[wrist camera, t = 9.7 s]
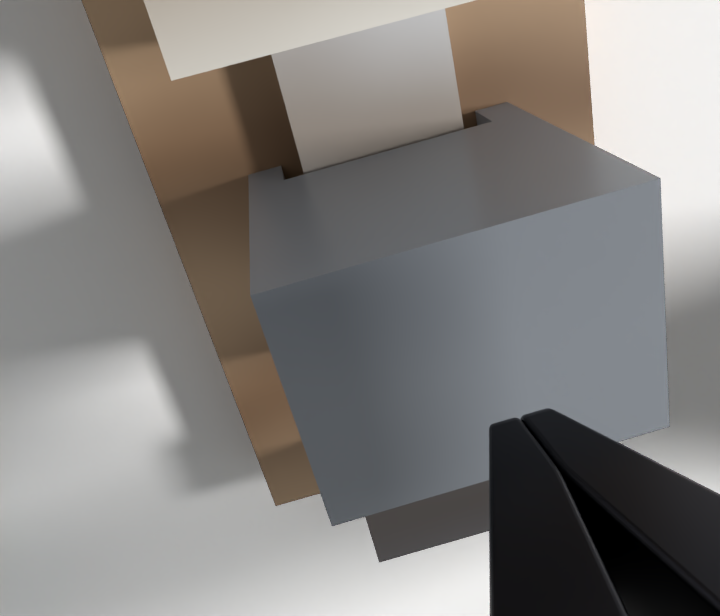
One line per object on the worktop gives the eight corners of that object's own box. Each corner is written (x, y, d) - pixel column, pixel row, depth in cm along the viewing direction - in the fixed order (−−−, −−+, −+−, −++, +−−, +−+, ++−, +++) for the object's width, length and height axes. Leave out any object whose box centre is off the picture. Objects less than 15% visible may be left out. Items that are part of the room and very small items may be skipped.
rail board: (582, 373, 22) (804, 637, 13) (273, 461, 21) (292, 790, 13) (511, -390, 13) (990, -1035, 5) (3, -264, 13) (-459, -714, 4)
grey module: (531, 278, 17) (669, 426, 12) (303, 344, 17) (332, 526, 12) (507, 101, 15) (660, 178, 10) (247, 174, 15) (249, 295, 10)
